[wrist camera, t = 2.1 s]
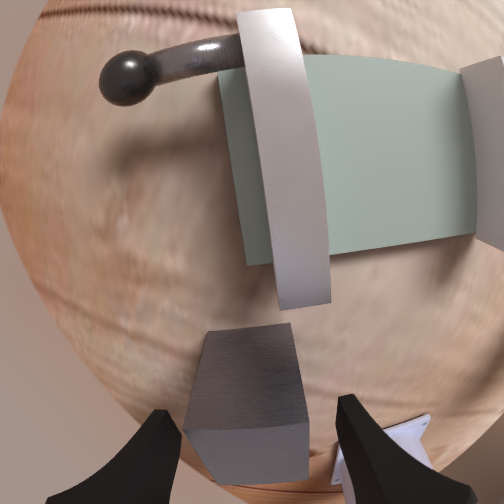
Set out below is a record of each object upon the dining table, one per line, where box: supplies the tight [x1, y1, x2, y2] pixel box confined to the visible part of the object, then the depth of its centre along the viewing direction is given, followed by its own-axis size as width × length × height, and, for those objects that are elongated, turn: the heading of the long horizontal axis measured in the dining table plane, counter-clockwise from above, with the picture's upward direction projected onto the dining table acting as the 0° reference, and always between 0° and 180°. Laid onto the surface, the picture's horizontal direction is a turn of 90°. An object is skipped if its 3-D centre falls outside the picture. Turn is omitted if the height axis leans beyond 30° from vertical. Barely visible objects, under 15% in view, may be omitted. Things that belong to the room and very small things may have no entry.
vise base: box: [217, 55, 504, 266], centre depth 8 cm, size 9×13×4 cm, turn 98°
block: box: [183, 323, 309, 485], centre depth 11 cm, size 5×4×6 cm
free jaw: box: [99, 8, 331, 310], centre depth 8 cm, size 9×6×3 cm
